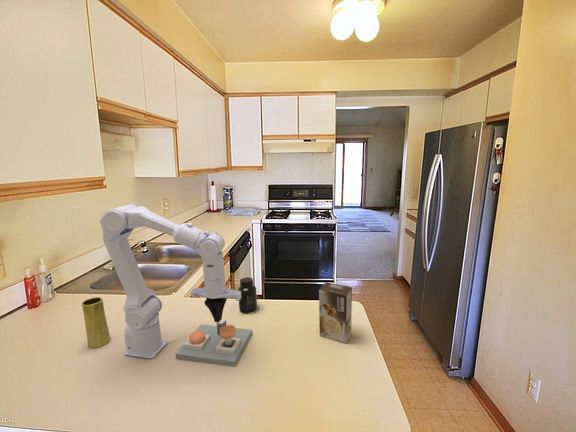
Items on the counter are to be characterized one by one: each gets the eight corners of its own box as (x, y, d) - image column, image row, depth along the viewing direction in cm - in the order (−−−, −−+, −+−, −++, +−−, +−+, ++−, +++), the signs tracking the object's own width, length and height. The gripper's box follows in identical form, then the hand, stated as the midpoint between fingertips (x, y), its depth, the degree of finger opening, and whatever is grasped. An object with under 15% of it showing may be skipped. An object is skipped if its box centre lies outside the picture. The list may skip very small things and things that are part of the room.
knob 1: (187, 352, 85) (185, 339, 84) (195, 342, 90) (193, 329, 89) (201, 354, 84) (200, 340, 83) (208, 344, 89) (207, 331, 88)
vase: (99, 349, 87) (92, 307, 84) (82, 347, 88) (74, 305, 85) (115, 337, 93) (108, 297, 90) (99, 335, 94) (92, 295, 91)
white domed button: (215, 334, 91) (214, 323, 90) (219, 329, 94) (219, 318, 93) (224, 335, 90) (223, 324, 89) (228, 330, 93) (227, 318, 92)
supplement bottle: (258, 305, 111) (257, 276, 109) (255, 314, 105) (253, 284, 102) (241, 304, 112) (239, 275, 110) (236, 313, 105) (235, 283, 103)
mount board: (175, 358, 83) (174, 349, 82) (201, 328, 97) (200, 320, 96) (234, 366, 79) (234, 357, 78) (252, 334, 93) (251, 326, 93)
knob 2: (217, 347, 83) (216, 333, 82) (224, 337, 87) (223, 324, 86) (232, 348, 82) (231, 335, 81) (238, 339, 86) (237, 325, 85)
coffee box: (352, 332, 93) (353, 286, 90) (346, 344, 87) (347, 295, 84) (325, 325, 97) (325, 281, 94) (318, 336, 92) (318, 289, 88)
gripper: (243, 272, 83) (246, 314, 86) (197, 269, 86) (202, 310, 89) (234, 282, 76) (237, 328, 79) (185, 279, 79) (190, 323, 82)
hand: (218, 320), depth 83 cm, fingers closed
